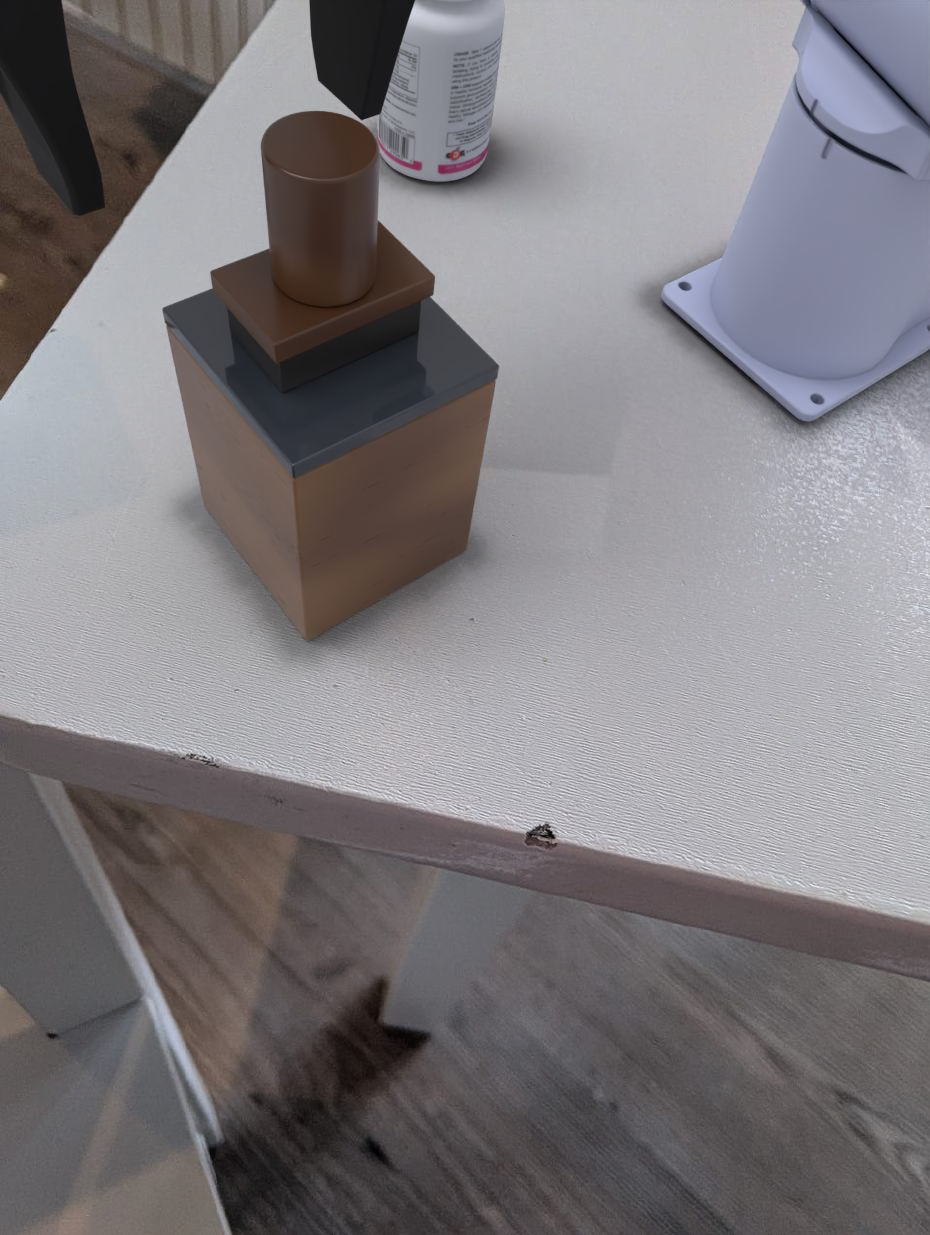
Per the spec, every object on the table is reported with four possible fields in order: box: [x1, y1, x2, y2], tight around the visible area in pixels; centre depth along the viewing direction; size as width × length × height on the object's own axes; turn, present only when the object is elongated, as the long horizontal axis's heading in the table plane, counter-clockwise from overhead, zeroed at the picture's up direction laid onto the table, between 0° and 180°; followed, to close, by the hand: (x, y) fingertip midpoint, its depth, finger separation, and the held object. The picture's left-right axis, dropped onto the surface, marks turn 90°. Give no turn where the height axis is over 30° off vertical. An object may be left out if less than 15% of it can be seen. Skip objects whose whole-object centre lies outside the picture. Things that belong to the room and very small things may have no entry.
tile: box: [161, 288, 500, 479], centre depth 24 cm, size 6×6×1 cm
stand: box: [165, 324, 497, 642], centre depth 27 cm, size 6×6×8 cm
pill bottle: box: [376, 0, 506, 183], centre depth 38 cm, size 5×5×8 cm
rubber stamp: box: [209, 110, 436, 393], centre depth 22 cm, size 4×3×5 cm, turn 128°
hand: (219, 140), depth 24 cm, fingers open, 7 cm apart
